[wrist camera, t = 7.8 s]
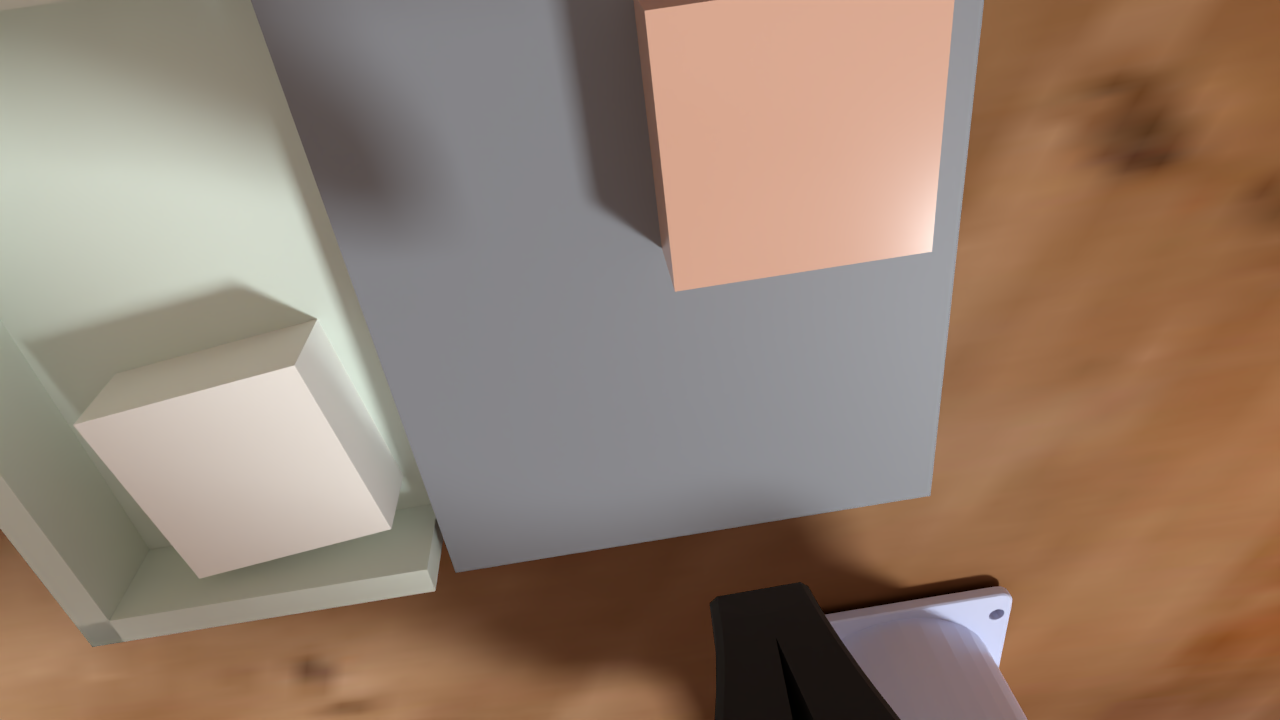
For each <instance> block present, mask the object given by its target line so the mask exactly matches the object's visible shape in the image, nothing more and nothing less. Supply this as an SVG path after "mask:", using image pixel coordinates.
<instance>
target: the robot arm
mask: <svg viewBox="0 0 1280 720" xmlns="http://www.w3.org/2000/svg"><path fill="white" fill-rule="evenodd" d="M1011 605H1012V597H1011V595H1010V594H1009V592H1008V590H1007V589H1006V588H1004V587H1001V586H994V587H988V588H982V589H976V590H970V591H964V592H958V593H952V594H946V595H940V596H934V597H928V598H922V599H916V600H910V601H904V602H898V603H892V604H886V605H880V606H873V607H867V608H861V609H855V610H849V611H843V612H837V613H831V614H824V613H823V611H822V609H821V608H820V606H819V605H818V603H817V601H816V600H815V598H814V596H813V594H812V593H811V591H810V589H809V587H808V586H806V585H805V584H803V583H801V582H799V583H793V584H787V585H781V586H776V587H770V588H764V589H758V590H753V591H747V592H741V593H735V594H730V595H724V596H718V597H716V598H715V599H714V600H713V601H712V602H711V603H710V610H711V618H712V626H713V633H714V641H715V649H716V706H715V720H1027V718H1026V716H1025V714H1024V713H1023V711H1022V709H1021V707H1020V705H1019V704H1018V702H1017V700H1016V698H1015V697H1014V695H1013V693H1012V691H1011V689H1010V688H1009V686H1008V684H1007V682H1006V680H1005V679H1004V677H1003V675H1002V673H1001V672H1000V670H999V664H1000V659H1001V654H1002V649H1003V644H1004V639H1005V635H1006V630H1007V625H1008V620H1009V615H1010V610H1011Z"/></svg>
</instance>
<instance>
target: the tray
mask: <svg viewBox="0 0 1280 720" xmlns="http://www.w3.org/2000/svg"><path fill="white" fill-rule="evenodd" d="M315 319H318V321H319V323H320V325H321V326H322V328H323V330H324V332H325V334H326V335H327V337H328V339H329V341H330V343H331V345H332V346H333V348H334V350H335V352H336V354H337V355H338V357H339V359H340V361H341V363H342V365H343V366H344V368H345V370H346V372H347V374H348V375H349V377H350V379H351V381H352V383H353V385H354V386H355V388H356V390H357V392H358V394H359V395H360V397H361V399H362V401H363V403H364V405H365V406H366V408H367V410H368V412H369V414H370V415H371V417H372V419H373V421H374V423H375V425H376V426H377V428H378V430H379V432H380V434H381V435H382V437H383V439H384V441H385V443H386V445H387V446H388V448H389V450H390V452H391V454H392V455H393V457H394V459H395V461H396V463H397V465H398V466H399V468H400V470H401V472H402V474H403V475H404V476H403V480H402V485H401V489H400V494H399V498H398V502H397V507H396V511H395V516H394V520H393V524H392V529H390V530H386V531H382V532H378V533H375V534H371V535H367V536H363V537H359V538H355V539H351V540H348V541H344V542H340V543H336V544H332V545H328V546H324V547H320V548H317V549H313V550H309V551H305V552H301V553H297V554H293V555H289V556H286V557H282V558H278V559H274V560H270V561H266V562H262V563H258V564H255V565H251V566H247V567H243V568H239V569H235V570H231V571H227V572H224V573H220V574H216V575H212V576H208V577H204V578H200V579H199V578H198V576H197V575H196V574H195V573H194V572H193V570H192V569H191V568H190V567H189V565H188V564H187V563H186V562H185V561H184V559H183V558H182V557H181V556H180V555H179V553H178V552H177V551H176V550H175V548H174V547H173V546H172V545H171V544H170V542H169V541H168V540H167V539H166V537H165V536H164V535H163V534H162V533H161V531H160V530H159V529H158V528H157V527H156V525H155V524H154V523H153V522H152V520H151V519H150V518H149V517H148V516H147V514H146V513H145V512H144V511H143V509H142V508H141V507H140V506H139V505H138V503H137V502H136V501H135V500H134V499H133V497H132V496H131V495H130V494H129V492H128V491H127V490H126V489H125V488H124V486H123V485H122V484H121V483H120V482H119V480H118V479H117V478H116V477H115V475H114V474H113V473H112V472H111V471H110V469H109V468H108V467H107V466H106V464H105V463H104V462H103V461H102V460H101V458H100V457H99V456H98V455H97V454H96V452H95V451H94V450H93V449H92V447H91V446H90V445H89V444H88V443H87V441H86V440H85V439H84V438H83V437H82V435H81V434H80V433H79V432H78V430H77V429H76V428H75V427H74V426H73V424H74V423H75V422H76V421H77V420H78V418H79V417H80V416H81V415H82V414H83V412H84V411H85V410H86V409H87V408H88V406H89V405H90V404H91V403H92V402H93V400H94V399H95V398H96V397H97V396H98V394H99V393H100V392H101V391H102V390H103V388H104V387H105V386H106V385H107V384H108V382H109V381H110V380H111V379H112V378H113V376H114V375H115V374H116V373H120V372H124V371H128V370H131V369H135V368H139V367H142V366H146V365H150V364H153V363H157V362H161V361H164V360H168V359H172V358H175V357H179V356H183V355H186V354H190V353H194V352H197V351H201V350H205V349H208V348H212V347H216V346H219V345H223V344H227V343H231V342H234V341H238V340H242V339H245V338H249V337H253V336H256V335H260V334H264V333H267V332H271V331H275V330H278V329H282V328H286V327H289V326H293V325H297V324H300V323H304V322H308V321H311V320H315ZM0 529H1V530H2V532H3V533H4V534H5V535H6V537H7V538H8V539H9V540H10V542H11V543H12V544H13V546H14V547H15V548H16V549H17V551H18V552H19V553H20V555H21V556H22V557H23V558H24V560H25V561H26V562H27V564H28V565H29V566H30V567H31V569H32V570H33V571H34V573H35V574H36V575H37V576H38V578H39V579H40V580H41V582H42V583H43V584H44V585H45V587H46V588H47V589H48V590H49V592H50V593H51V594H52V596H53V597H54V598H55V599H56V601H57V602H58V603H59V605H60V606H61V607H62V608H63V610H64V611H65V612H66V614H67V615H68V616H69V617H70V619H71V620H72V621H73V623H74V624H75V625H76V626H77V628H78V629H79V630H80V632H81V633H82V634H83V635H84V637H85V638H86V639H87V641H88V642H89V643H90V644H91V646H92V647H95V646H101V645H107V644H114V643H120V642H126V641H132V640H138V639H144V638H150V637H157V636H163V635H169V634H175V633H181V632H187V631H193V630H200V629H206V628H212V627H218V626H224V625H230V624H236V623H243V622H249V621H255V620H261V619H267V618H273V617H279V616H285V615H292V614H298V613H304V612H310V611H316V610H322V609H328V608H335V607H341V606H347V605H353V604H359V603H365V602H371V601H378V600H384V599H390V598H396V597H402V596H408V595H414V594H421V593H427V592H433V591H436V584H437V578H438V571H439V564H440V557H441V551H442V544H443V536H442V533H441V530H440V527H439V525H438V522H437V519H436V516H435V513H434V511H433V508H432V505H431V502H430V500H429V497H428V494H427V491H426V488H425V486H424V483H423V480H422V477H421V474H420V472H419V469H418V466H417V463H416V460H415V458H414V455H413V452H412V449H411V446H410V444H409V441H408V438H407V435H406V433H405V430H404V427H403V424H402V421H401V419H400V416H399V413H398V410H397V407H396V405H395V402H394V399H393V396H392V393H391V391H390V388H389V385H388V382H387V379H386V377H385V374H384V371H383V368H382V366H381V363H380V360H379V357H378V354H377V352H376V349H375V346H374V343H373V340H372V338H371V335H370V332H369V329H368V326H367V324H366V321H365V318H364V315H363V312H362V310H361V307H360V304H359V301H358V299H357V296H356V293H355V290H354V287H353V285H352V282H351V279H350V276H349V273H348V271H347V268H346V265H345V262H344V259H343V257H342V254H341V251H340V248H339V246H338V243H337V240H336V237H335V234H334V232H333V229H332V226H331V223H330V220H329V218H328V215H327V212H326V209H325V206H324V204H323V201H322V198H321V195H320V192H319V190H318V187H317V184H316V181H315V179H314V176H313V173H312V170H311V167H310V165H309V162H308V159H307V156H306V153H305V151H304V148H303V145H302V142H301V139H300V137H299V134H298V131H297V128H296V125H295V123H294V120H293V117H292V114H291V112H290V109H289V106H288V103H287V100H286V98H285V95H284V92H283V89H282V86H281V84H280V81H279V78H278V75H277V72H276V70H275V67H274V64H273V61H272V58H271V56H270V53H269V50H268V47H267V45H266V42H265V39H264V36H263V33H262V31H261V28H260V25H259V22H258V19H257V17H256V14H255V11H254V8H253V5H252V3H251V0H0Z"/></svg>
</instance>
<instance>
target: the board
mask: <svg viewBox="0 0 1280 720" xmlns="http://www.w3.org/2000/svg"><path fill="white" fill-rule="evenodd" d="M251 3H252V5H253V8H254V11H255V14H256V17H257V19H258V22H259V25H260V28H261V31H262V33H263V36H264V39H265V42H266V45H267V47H268V50H269V53H270V56H271V58H272V61H273V64H274V67H275V70H276V72H277V75H278V78H279V81H280V84H281V86H282V89H283V92H284V95H285V98H286V100H287V103H288V106H289V109H290V112H291V114H292V117H293V120H294V123H295V125H296V128H297V131H298V134H299V137H300V139H301V142H302V145H303V148H304V151H305V153H306V156H307V159H308V162H309V165H310V167H311V170H312V173H313V176H314V179H315V181H316V184H317V187H318V190H319V192H320V195H321V198H322V201H323V204H324V206H325V209H326V212H327V215H328V218H329V220H330V223H331V226H332V229H333V232H334V234H335V237H336V240H337V243H338V246H339V248H340V251H341V254H342V257H343V259H344V262H345V265H346V268H347V271H348V273H349V276H350V279H351V282H352V285H353V287H354V290H355V293H356V296H357V299H358V301H359V304H360V307H361V310H362V312H363V315H364V318H365V321H366V324H367V326H368V329H369V332H370V335H371V338H372V340H373V343H374V346H375V349H376V352H377V354H378V357H379V360H380V363H381V366H382V368H383V371H384V374H385V377H386V379H387V382H388V385H389V388H390V391H391V393H392V396H393V399H394V402H395V405H396V407H397V410H398V413H399V416H400V419H401V421H402V424H403V427H404V430H405V433H406V435H407V438H408V441H409V444H410V446H411V449H412V452H413V455H414V458H415V460H416V463H417V466H418V469H419V472H420V474H421V477H422V480H423V483H424V486H425V488H426V491H427V494H428V497H429V500H430V502H431V505H432V508H433V511H434V513H435V516H436V519H437V522H438V525H439V527H440V530H441V533H442V536H443V539H444V541H445V544H446V547H447V550H448V553H449V555H450V558H451V561H452V564H453V567H454V569H455V572H456V573H457V572H464V571H470V570H476V569H482V568H488V567H494V566H501V565H507V564H513V563H519V562H525V561H531V560H537V559H544V558H550V557H556V556H562V555H568V554H574V553H581V552H587V551H593V550H599V549H605V548H611V547H617V546H624V545H630V544H636V543H642V542H648V541H654V540H661V539H667V538H673V537H679V536H685V535H691V534H698V533H704V532H710V531H716V530H722V529H728V528H734V527H741V526H747V525H753V524H759V523H765V522H771V521H778V520H784V519H790V518H796V517H802V516H808V515H814V514H821V513H827V512H833V511H839V510H845V509H851V508H858V507H864V506H870V505H876V504H882V503H888V502H894V501H901V500H907V499H913V498H919V497H925V496H930V493H931V484H932V475H933V466H934V457H935V447H936V438H937V429H938V420H939V410H940V401H941V392H942V383H943V374H944V364H945V355H946V346H947V337H948V328H949V318H950V309H951V300H952V291H953V281H954V272H955V263H956V254H957V245H958V235H959V226H960V217H961V208H962V199H963V189H964V180H965V171H966V162H967V153H968V143H969V134H970V125H971V116H972V106H973V97H974V88H975V79H976V70H977V60H978V51H979V42H980V33H981V24H982V14H983V5H984V0H955V1H954V12H953V23H952V34H951V45H950V56H949V67H948V79H947V90H946V101H945V112H944V123H943V134H942V145H941V157H940V168H939V179H938V190H937V201H936V212H935V223H934V235H933V246H932V252H927V253H921V254H914V255H908V256H901V257H895V258H888V259H882V260H876V261H869V262H863V263H856V264H850V265H844V266H837V267H831V268H824V269H818V270H811V271H805V272H799V273H792V274H786V275H779V276H773V277H766V278H760V279H754V280H747V281H741V282H734V283H728V284H721V285H715V286H709V287H702V288H696V289H689V290H683V291H677V292H675V290H674V287H673V284H672V280H671V277H670V274H669V270H668V267H667V264H666V261H665V257H664V254H663V251H662V246H661V237H660V228H659V220H658V211H657V202H656V193H655V185H654V176H653V167H652V158H651V150H650V141H649V132H648V124H647V115H646V106H645V97H644V89H643V80H642V71H641V63H640V54H639V45H638V36H637V28H636V19H635V10H634V1H633V0H251Z"/></svg>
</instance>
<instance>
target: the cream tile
mask: <svg viewBox="0 0 1280 720" xmlns="http://www.w3.org/2000/svg"><path fill="white" fill-rule="evenodd" d="M73 426H74V427H75V428H76V429H77V430H78V432H79V433H80V434H81V435H82V437H83V438H84V439H85V440H86V441H87V443H88V444H89V445H90V446H91V447H92V449H93V450H94V451H95V452H96V454H97V455H98V456H99V457H100V458H101V460H102V461H103V462H104V463H105V464H106V466H107V467H108V468H109V469H110V471H111V472H112V473H113V474H114V475H115V477H116V478H117V479H118V480H119V482H120V483H121V484H122V485H123V486H124V488H125V489H126V490H127V491H128V492H129V494H130V495H131V496H132V497H133V499H134V500H135V501H136V502H137V503H138V505H139V506H140V507H141V508H142V509H143V511H144V512H145V513H146V514H147V516H148V517H149V518H150V519H151V520H152V522H153V523H154V524H155V525H156V527H157V528H158V529H159V530H160V531H161V533H162V534H163V535H164V536H165V537H166V539H167V540H168V541H169V542H170V544H171V545H172V546H173V547H174V548H175V550H176V551H177V552H178V553H179V555H180V556H181V557H182V558H183V559H184V561H185V562H186V563H187V564H188V565H189V567H190V568H191V569H192V570H193V572H194V573H195V574H196V575H197V576H198V578H199V579H200V578H204V577H208V576H212V575H216V574H220V573H224V572H227V571H231V570H235V569H239V568H243V567H247V566H251V565H255V564H258V563H262V562H266V561H270V560H274V559H278V558H282V557H286V556H289V555H293V554H297V553H301V552H305V551H309V550H313V549H317V548H320V547H324V546H328V545H332V544H336V543H340V542H344V541H348V540H351V539H355V538H359V537H363V536H367V535H371V534H375V533H378V532H382V531H386V530H390V529H392V524H393V520H394V516H395V511H396V507H397V502H398V498H399V494H400V489H401V485H402V480H403V476H404V475H403V474H402V472H401V470H400V468H399V466H398V465H397V463H396V461H395V459H394V457H393V455H392V454H391V452H390V450H389V448H388V446H387V445H386V443H385V441H384V439H383V437H382V435H381V434H380V432H379V430H378V428H377V426H376V425H375V423H374V421H373V419H372V417H371V415H370V414H369V412H368V410H367V408H366V406H365V405H364V403H363V401H362V399H361V397H360V395H359V394H358V392H357V390H356V388H355V386H354V385H353V383H352V381H351V379H350V377H349V375H348V374H347V372H346V370H345V368H344V366H343V365H342V363H341V361H340V359H339V357H338V355H337V354H336V352H335V350H334V348H333V346H332V345H331V343H330V341H329V339H328V337H327V335H326V334H325V332H324V330H323V328H322V326H321V325H320V323H319V321H318V319H315V320H311V321H308V322H304V323H300V324H297V325H293V326H289V327H286V328H282V329H278V330H275V331H271V332H267V333H264V334H260V335H256V336H253V337H249V338H245V339H242V340H238V341H234V342H231V343H227V344H223V345H219V346H216V347H212V348H208V349H205V350H201V351H197V352H194V353H190V354H186V355H183V356H179V357H175V358H172V359H168V360H164V361H161V362H157V363H153V364H150V365H146V366H142V367H139V368H135V369H131V370H128V371H124V372H120V373H116V374H115V375H114V376H113V378H112V379H111V380H110V381H109V382H108V384H107V385H106V386H105V387H104V388H103V390H102V391H101V392H100V393H99V394H98V396H97V397H96V398H95V399H94V400H93V402H92V403H91V404H90V405H89V406H88V408H87V409H86V410H85V411H84V412H83V414H82V415H81V416H80V417H79V418H78V420H77V421H76V422H75V423H74V424H73Z"/></svg>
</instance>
